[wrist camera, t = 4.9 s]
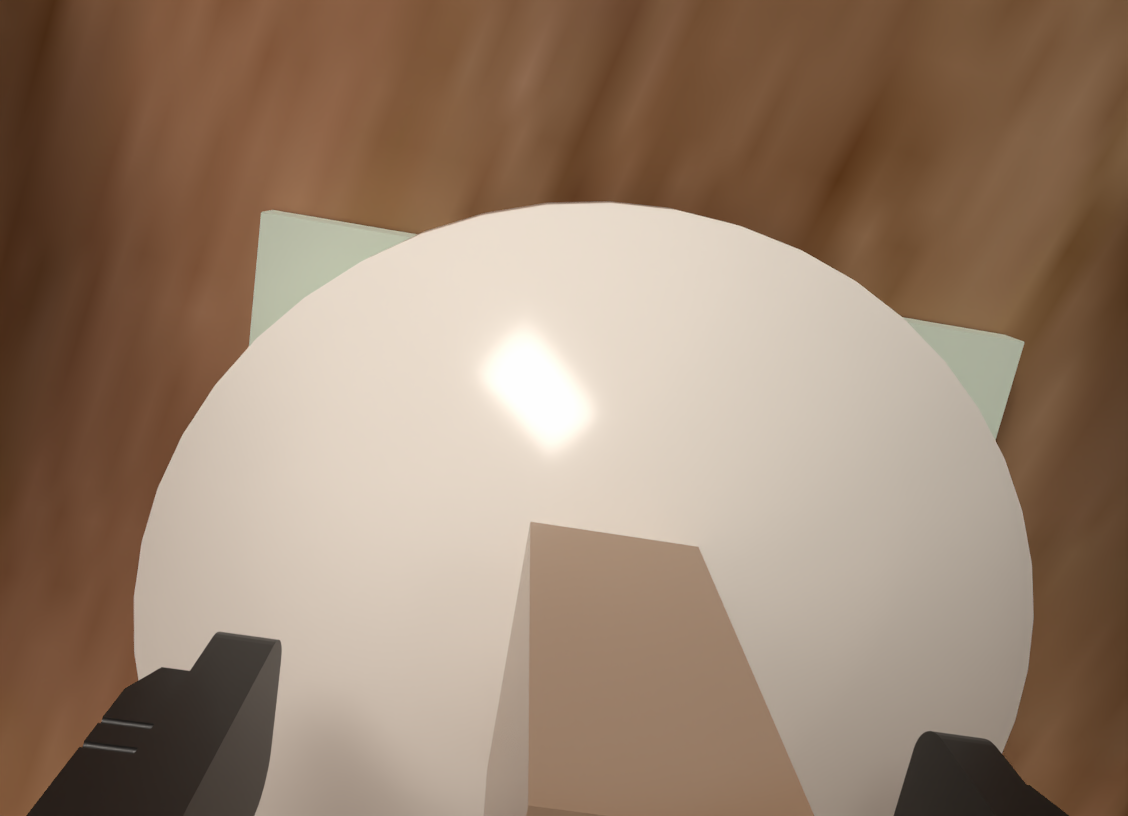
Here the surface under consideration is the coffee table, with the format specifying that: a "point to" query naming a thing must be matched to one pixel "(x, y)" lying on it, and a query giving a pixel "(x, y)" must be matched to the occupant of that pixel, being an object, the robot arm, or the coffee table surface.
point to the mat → (329, 248)
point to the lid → (595, 530)
